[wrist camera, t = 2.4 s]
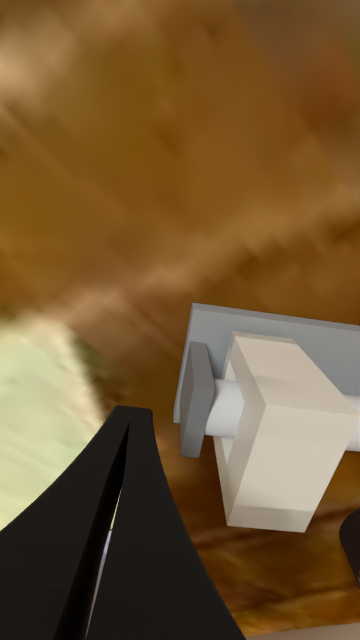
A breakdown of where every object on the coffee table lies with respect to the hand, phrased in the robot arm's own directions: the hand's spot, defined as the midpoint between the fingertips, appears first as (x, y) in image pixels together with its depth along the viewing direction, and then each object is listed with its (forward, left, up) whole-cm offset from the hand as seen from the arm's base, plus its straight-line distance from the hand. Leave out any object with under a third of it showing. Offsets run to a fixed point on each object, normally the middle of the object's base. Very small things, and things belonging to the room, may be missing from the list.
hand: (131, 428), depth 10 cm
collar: (0, -6, -4) cm, 7 cm away
